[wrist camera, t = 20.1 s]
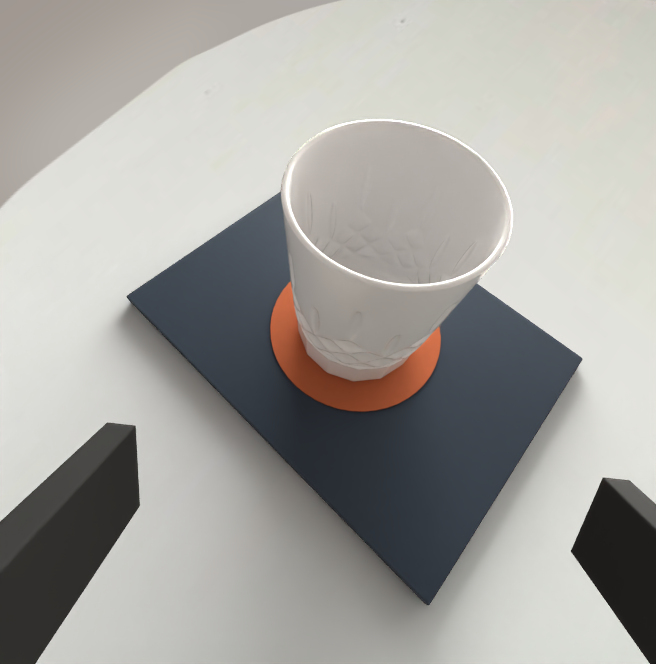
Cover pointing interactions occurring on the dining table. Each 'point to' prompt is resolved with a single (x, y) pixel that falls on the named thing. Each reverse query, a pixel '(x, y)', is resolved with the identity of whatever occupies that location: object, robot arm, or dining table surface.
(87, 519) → the robot arm
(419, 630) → the dining table surface
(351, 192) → the white cup
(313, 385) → the place mat
